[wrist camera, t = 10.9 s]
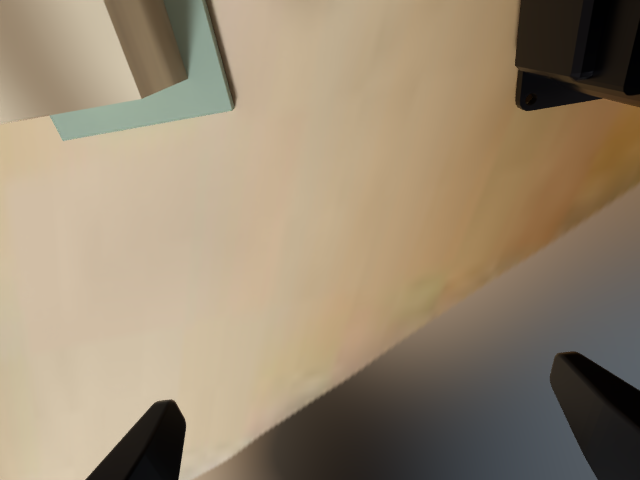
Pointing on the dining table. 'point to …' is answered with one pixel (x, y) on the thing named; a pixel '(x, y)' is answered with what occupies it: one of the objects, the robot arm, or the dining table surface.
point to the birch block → (83, 55)
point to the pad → (175, 101)
